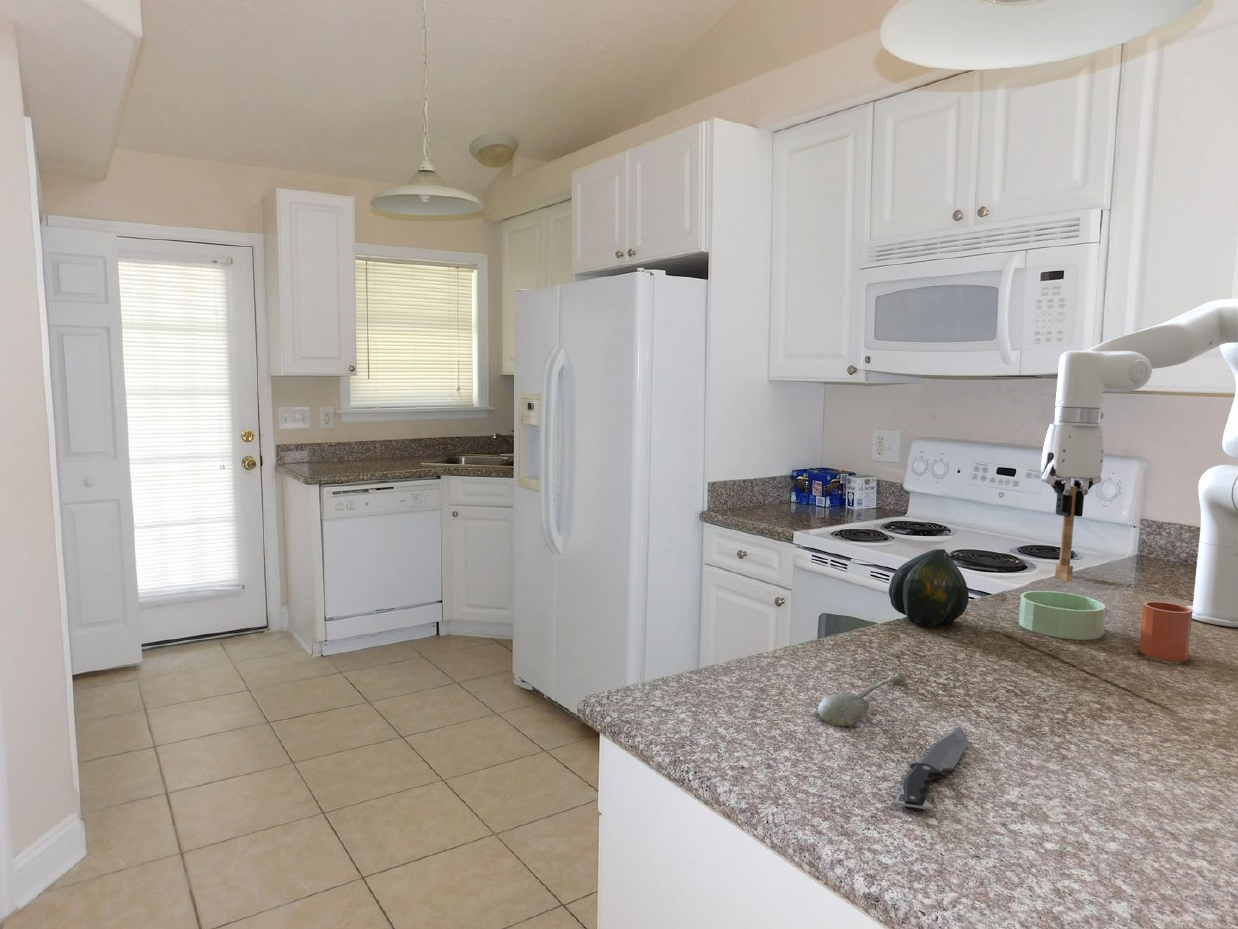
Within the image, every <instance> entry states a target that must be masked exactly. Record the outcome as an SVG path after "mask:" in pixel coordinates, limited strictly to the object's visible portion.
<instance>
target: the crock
mask: <svg viewBox="0 0 1238 929" xmlns="http://www.w3.org/2000/svg"><path fill="white" fill-rule="evenodd" d="M1142 604H1143V605H1142V615H1141V625H1140V636H1139V646H1138V650H1139V653H1141V654H1142V655H1145V656H1147V657H1150V658H1152V659H1157V660H1161V661H1169V662H1185V661H1187V660H1189V650H1190V640H1191V631H1192V621H1193V619H1192V609H1190V608H1188V607H1186V606H1185V605H1181V604H1177V603H1174V602H1173V603H1172V602H1166V601H1156V600H1155V601H1154V600H1153V601H1144V602H1143V603H1142Z"/></svg>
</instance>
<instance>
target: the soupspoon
mask: <svg viewBox="0 0 1238 929" xmlns="http://www.w3.org/2000/svg"><path fill="white" fill-rule="evenodd" d="M894 674H895V675H891V676H889V677H888V678H886V679H883V680H881V681H879V682H876V683H875V684H873V685H871V686H869V687H867V688H865V689H863V690H862V691H860V692H859V693H857V694H853V693H849V692H848V693H846V692H845V693H843V692H841V693H834V694H831V695H828V696H826V697H825V698H823V699H822V700H821V702H820V703H819V704H818V707H817V711H818V716H819V717H820V718H821V719H822V721H824V722H825V723H827V724H829V725H831V726H838V727H850V726H853V725H856V724H858V723H859V722H861V721H862V720H863V718H864V717H866V715H867V714H868V712H869V709H870V705H869V702H868V701H867V700H866V699H865V698H864V697H866V696H867V695H869V694H870V693H872V692H873V691H875V690H876V689H878V688H880V687H883V686H884V685H886V684H889V683H897V684H899V685H902V684H904V683H905V682H906V675H905V674H904V673H903V672H896V673H894Z"/></svg>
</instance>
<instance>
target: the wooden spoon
mask: <svg viewBox="0 0 1238 929" xmlns="http://www.w3.org/2000/svg"><path fill="white" fill-rule="evenodd" d="M1076 491H1077V486H1072V485H1071V488H1070V494H1069V495H1072V497H1073V498H1072V510H1071V516H1070V517H1066V516H1062V526H1061V537H1060V549H1059V550H1060V551H1059V561H1058V562H1056V563H1055V572H1054V579H1056V580H1060V581H1063V582H1065V583H1071V582H1072V581H1073V572H1074V571H1073V570H1074V566H1073V565H1071V558H1072V557H1071V556H1072V548H1073V547H1072V546H1073V534H1074V526H1075V522H1074V521H1075V516H1074V514H1075V502H1076Z"/></svg>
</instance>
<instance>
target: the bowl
mask: <svg viewBox="0 0 1238 929" xmlns="http://www.w3.org/2000/svg"><path fill="white" fill-rule="evenodd" d="M1106 611H1107V606H1106V604H1105V603H1104V602H1101V601H1099V600H1097V599H1094V598H1092V597H1088V596H1084V595H1080V594H1075V593H1069V592H1061V591H1055V590H1054V591H1053V590H1052V591H1051V590H1029V591H1025V592H1022V593H1021V594H1019V607H1018V619H1017V620H1018V625H1019V626H1021V627H1022V628H1023V629H1025V630H1028V631H1030V632H1032V633H1036V634H1039V635H1043V636H1047V637H1052V638H1057V639H1065V640H1075V641H1077V640H1078V641H1087V640H1097V639H1101V638H1102V637H1104V634H1105V621H1106V613H1107V612H1106Z"/></svg>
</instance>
